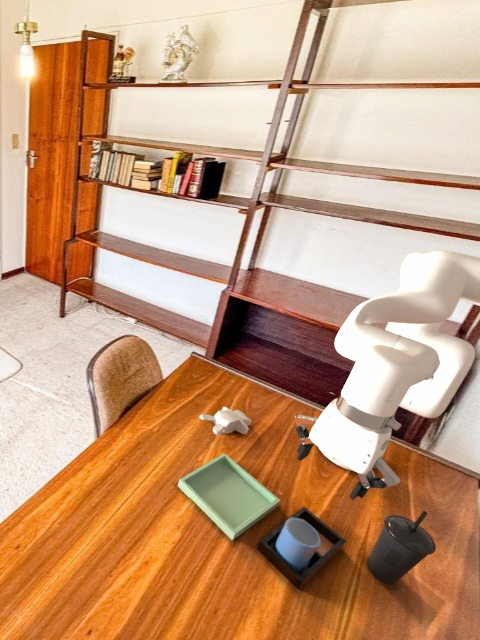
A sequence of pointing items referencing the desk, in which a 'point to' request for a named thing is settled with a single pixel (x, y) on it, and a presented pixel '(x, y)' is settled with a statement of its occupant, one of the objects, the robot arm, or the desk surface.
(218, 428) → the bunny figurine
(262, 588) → the desk surface
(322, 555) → the black divided tray
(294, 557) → the blue cup
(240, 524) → the tray
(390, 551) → the drinking cup
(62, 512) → the desk surface
